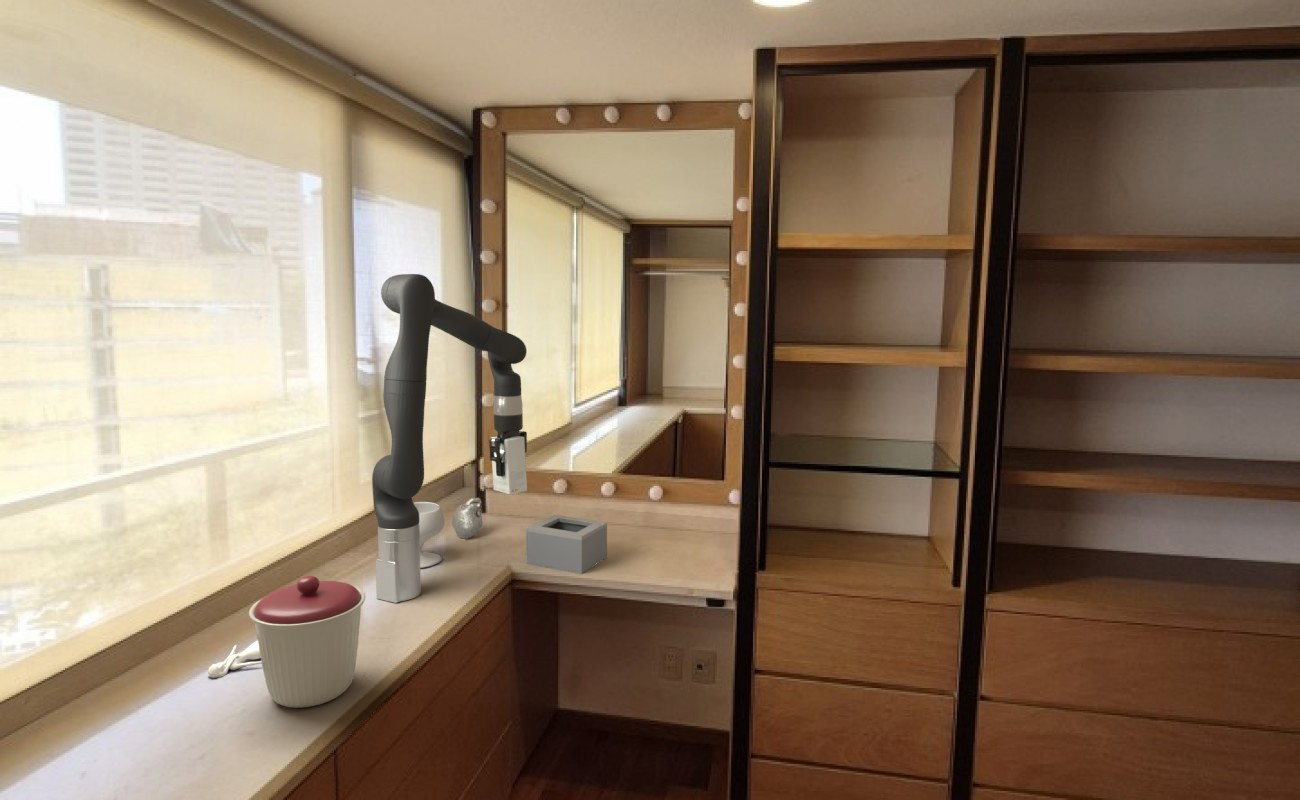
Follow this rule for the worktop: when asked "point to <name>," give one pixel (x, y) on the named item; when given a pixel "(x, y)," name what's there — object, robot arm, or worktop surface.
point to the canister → (308, 640)
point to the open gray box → (566, 543)
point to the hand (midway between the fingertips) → (509, 472)
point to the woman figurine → (236, 661)
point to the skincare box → (512, 467)
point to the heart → (468, 518)
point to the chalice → (429, 529)
